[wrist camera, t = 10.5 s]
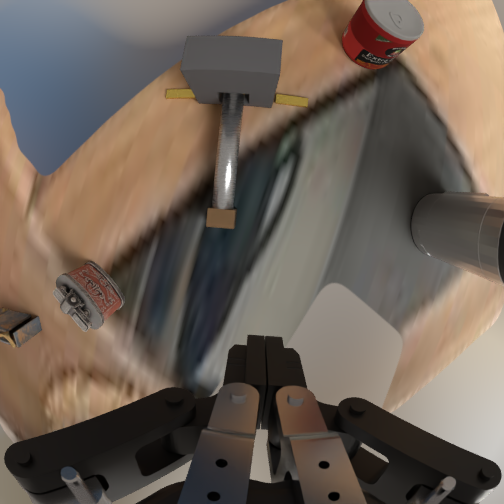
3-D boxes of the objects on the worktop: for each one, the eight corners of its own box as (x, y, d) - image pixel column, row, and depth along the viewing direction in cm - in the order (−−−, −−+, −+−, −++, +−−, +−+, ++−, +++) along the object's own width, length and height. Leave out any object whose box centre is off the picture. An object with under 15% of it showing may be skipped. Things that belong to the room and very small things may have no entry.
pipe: (296, 230, 35) (302, 235, 31) (153, 218, 35) (142, 221, 31) (309, 61, 31) (315, 47, 27) (175, 53, 31) (167, 39, 26)
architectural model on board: (39, 313, 38) (5, 335, 28) (43, 329, 39) (11, 353, 29) (2, 304, 38) (-29, 322, 28) (6, 319, 38) (-25, 338, 29)
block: (271, 107, 32) (280, 74, 22) (198, 103, 32) (180, 69, 21) (273, 80, 31) (282, 40, 21) (202, 76, 31) (187, 36, 21)
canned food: (353, 73, 31) (386, 38, 21) (331, 28, 30) (354, -14, 19) (396, 69, 31) (435, 40, 20) (375, 26, 30) (405, -10, 19)
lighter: (80, 271, 36) (40, 291, 26) (92, 255, 36) (51, 274, 26) (116, 312, 37) (83, 343, 28) (129, 298, 37) (97, 328, 27)
